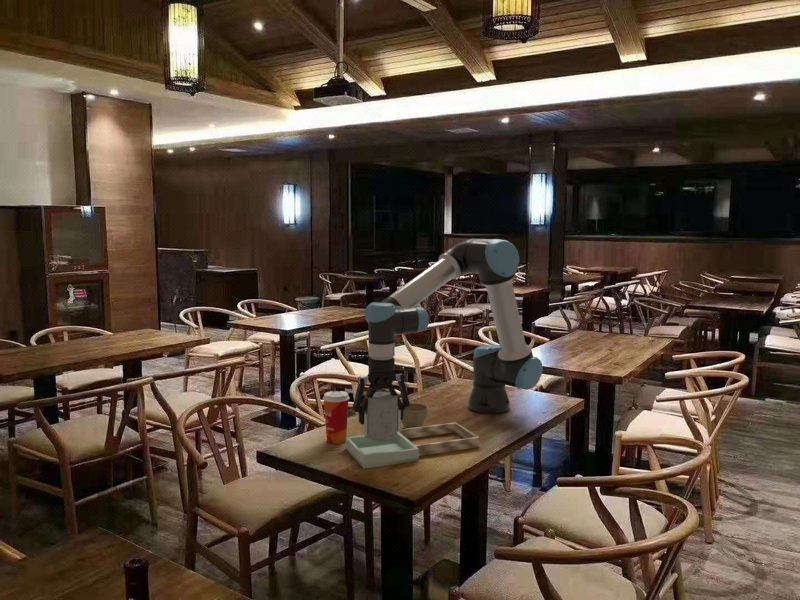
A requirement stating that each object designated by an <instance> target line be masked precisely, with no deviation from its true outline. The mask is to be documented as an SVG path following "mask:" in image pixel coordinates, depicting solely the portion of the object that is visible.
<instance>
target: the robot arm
mask: <svg viewBox="0 0 800 600" xmlns="http://www.w3.org/2000/svg"><path fill="white" fill-rule="evenodd" d="M519 264H520V255H519V251H518V249H517V247H516V246H515V245H514V244H513V243H512V242H510V241H509V240H506V239H500V238H493V239H491V238H470V239H466V240H463V241H461V242H459V243H457V244H455V245H454V246H452V247H451V248H449V249H447V250H446V251H444V252H443V253H441V254H440V255H439V257H438V260H437V261H435V263H433V264H432V265H430V266H428V267H427V268H425V270H424V271H422V272H420V274H418V275H417V276H415V277H413V278H412V279H411V280H409V281H408V282H407V283H405V284H404V285H403V286H401V287H400V288H398V289H397V290H396V291H394V292H393V293H391V294H390V295H389V296H387V297H385V299H383V300H382V301H380V302H379V301H373V302H370V303H369V304H368V305H367V306H366V307H365V309H364V319H365V320H366V322H367V324H368V327H367V328H368V356H369V358H368V374H367V376H363V377H362V376H357V389H356V392H355V396H354V401H353V404H352V410H353V411H354V412H355V413H358V423H359V425H361V434H362V435H364V436H367V413H366V412H365V411H366V409H367V407H368V398H372V397H373V395H374V393H375V392H376V391H382V390H387V391H389V392H390V394H392V395H393V396H397V394H398V393H397V391H396V389H395V387H394V385H393V382H394V381H396V382H397V384H398V388H399V393H400V397H401V399H400V397H399V395H398V406H397V432H401V429H402V427H401V424H402V422H401V420H403V410H405V407H409V406H410V403H411V402H410V399H409V395H408V390H407V387H406V383H405V382H406V381H405V380H406V376H405V374H403V373H402V372H399V373H395V367H396V365H395V363H396V362H395V359H396V358H394V357H395V355H396V354H395V353H396V351H395V349H396V348H395V347H396V346H395V342H396V336H399V335H406V334H417V333H420V332H421V333H422V332H424V331H426V329H427V328H428V327H429V324H430V323H429V322H430V321H429V319H430V317H429V313H428V311H427V310H426V308H424V307H422V306H417V305H419V304H421V302H423V301H424V300H426V299H427V298H428V297H430V295H432V294H434V293H435V292H436V291H437V290H439V289H440V288H441V287H443V286H444V285H446V283H448V282H450V281H451V280H456V279H459V278H460V277H462V276H463V275H467V274H476V275H478V277H479V282H480V285H482V286H484V287H485V289H486V292H487V295H488V300H489V304H490V309H491V313H492V317H493V321H494V325H495V330H496V334H497V338H498V342H499V344H493V345H492V344H491V345H490V344H489V345H481V346H477V347H476V348H475V349H474V351H473V359H472V360H473V361H472V362H473V363H472V364H473V367H472V369H473V370H472V371H473V379H472V380H473V381H472V383H473V385H472V389H471V392H470V394H469V398H468V401H467V408H468V409H469V410H471V411H473V412H476V413H481V414H502V413H506V412H508V411H510V409H511V408H510V399H509V396H508V393H507V390H506V386H508V387H513V388H516V389H518V390H525V391H528V390H531V389H533V388H534V387H536V386H537V384H538V383H539V381H540V380H541V377H542V374H543V363H542V360H541V359H540V358H538V357H537V356H534V355H533V350H532V348H531V346H530V345H529V344H527V343H526V340H525V335H524V331H523V327H522V322H521V316H520V312H519V309H518V308H519V307H518V303H517V300H516V299H517V298H516V295H515V290H514V285H513V280H514V279H515V277H516V272H517V271H518V269H519ZM367 382H369V386H368V388H367V390H366V391H367V392H366V393H365V394H366V395H365V394H364V392H365V388H366V387H365V385H367ZM365 396H366V397H368V398H366V397H365Z"/></svg>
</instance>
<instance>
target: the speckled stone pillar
mask: <svg viewBox="0 0 800 600" xmlns="http://www.w3.org/2000/svg"><path fill="white" fill-rule="evenodd" d="M365 395H366V393H365V394H364V397H366V396H365ZM398 396H399V394H398V393H397V396H393V395H392V394H390V392H389V390H377V391H376V392H375V393H374V395H373V397H372V398H368V397H366V398H368V407H367V409H366V411H365V412H366V413H367V436H365V438H366V439H368V440H371V441H376V442H387V441H392V440H395V439H396V438H397V437H398V435H397V408H398Z"/></svg>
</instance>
